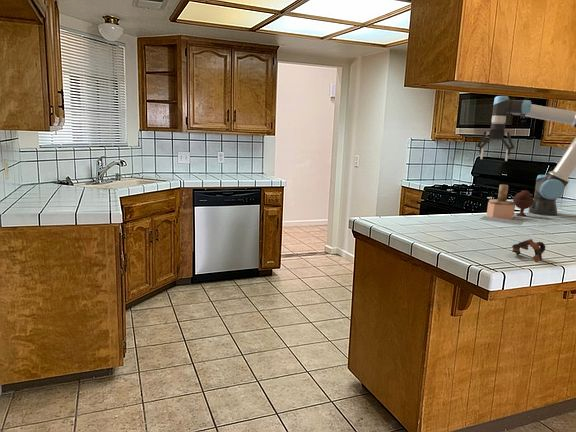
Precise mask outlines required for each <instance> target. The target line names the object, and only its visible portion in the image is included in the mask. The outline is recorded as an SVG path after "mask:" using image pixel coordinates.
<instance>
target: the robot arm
mask: <svg viewBox="0 0 576 432" xmlns="http://www.w3.org/2000/svg"><path fill="white" fill-rule="evenodd" d="M492 106H493V107H492V116H491V120H490V121H491V125H490V130H489V131H486V130H485V131H484V132H483V135H482V137H481V138H480V140H479V141H478V142H477V144H476V147H477V148H479V150H478V152H479V154H480V160H483V157H484V147H485V146H486V145H487V144H488V143H489V142H490V141H491V140H498V141H499V140H500V141H501V142H502V143H503V144H504V146H505V148H507V149H506V152H505V158H504V161H505V162H508V156H510V155H511V151H512V150H513V149H515V145H514V143H513V140H512V138H511V132H509V131H508V132H505V131H506V129H505V128H506V121H507V114H512V115H513V116H521V117H526V118H527V117H528V118H533V119H538V120H542V121H543V120H544V121H548V122H555V123H561V124H565V125H571V127H573V128H576V111H575V110H568V109H561V108H556V107H550V106H543V105H538V104H534V103H533V104H532V101H531V100H527V99H524V100H523V99H520V100H519V99H510V97H509V96H507V95H497V96H495V97H494V101H493V105H492ZM488 135H489V137H488V138H487V139H486V137H487V136H488ZM504 136H506V137H507V140H508V142H509V143H508V142H507V141H506V139H505V138H504ZM485 139H486V140H485ZM575 169H576V136H575V137H574V139H573V140H572V142H571V143H570V144H569V146H568V148H567V149H566V151H565V152H564V154H563V155H562V156H561V158H560V160H558V162H557V164H556V166H555V167H554V168H553V170H551V171H548V172H547V174H538V175H537V177H536V179H535V187H534V196H533V200H534V203H533V204H532V206H530V207H529V208H528V212H529V213H532V214H536V215H543V216H557V215H558V207H557V203H556V201H557V199H559V198H560V197H562V196H563V194H564V193H565V189H566V187H567V185H568V184H569V182H570V180H569V177H570V176H571V174H572V173H573V171H574V170H575Z"/></svg>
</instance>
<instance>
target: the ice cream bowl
mask: <svg viewBox="0 0 576 432" xmlns="http://www.w3.org/2000/svg"><path fill="white" fill-rule="evenodd" d="M512 201H513V202H515V207H516V208H518V209H519V210H520V211H519V213H516V215H515V216H517V217H521V218H522V217H527V215H526V214H525V209H529V207H530V206H532V204H533V203H534V197H533V196H531V193H530V191H529V190H525V189H524V190H521V191H520V192H517V193H516V194H515V195H514V198H512Z"/></svg>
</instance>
